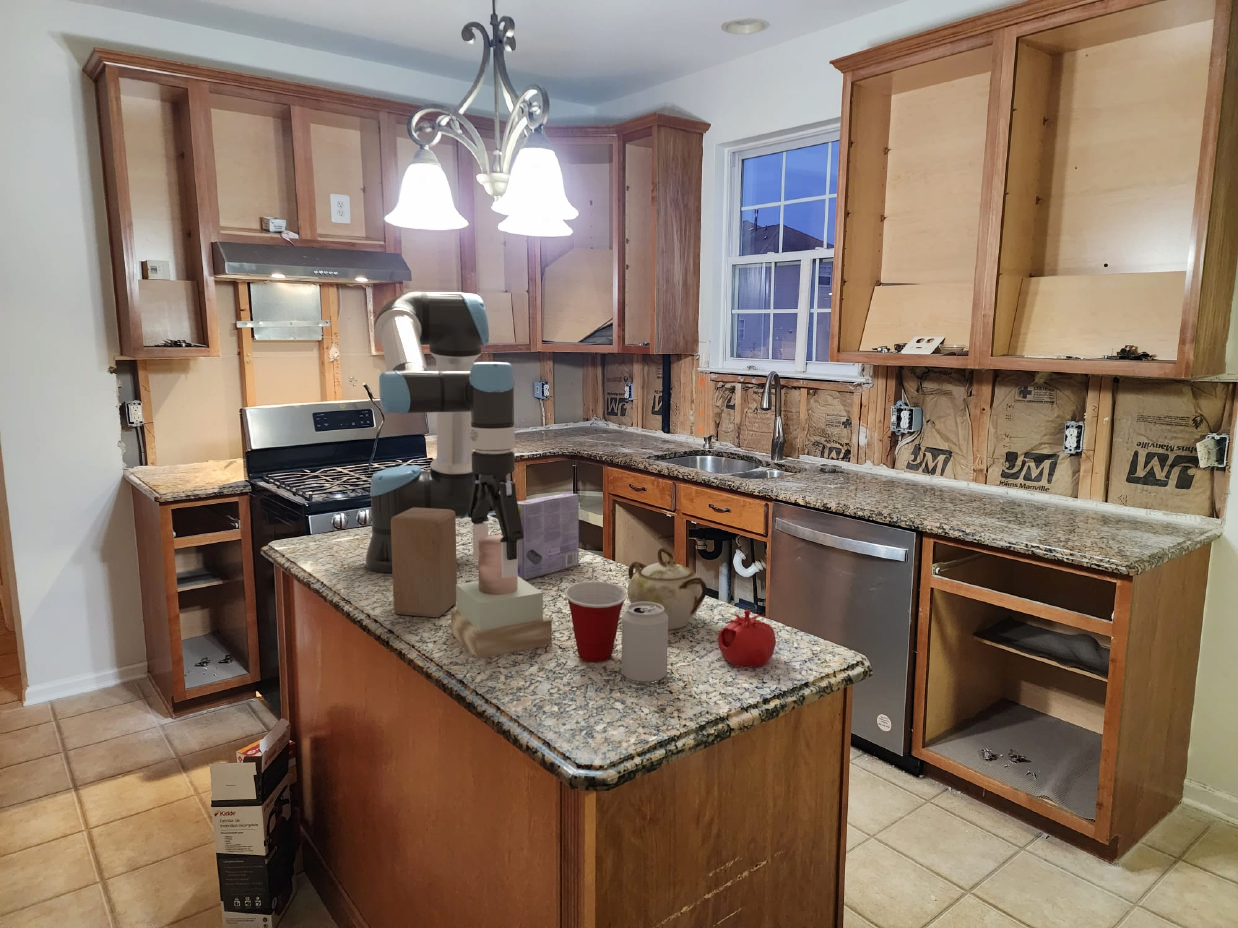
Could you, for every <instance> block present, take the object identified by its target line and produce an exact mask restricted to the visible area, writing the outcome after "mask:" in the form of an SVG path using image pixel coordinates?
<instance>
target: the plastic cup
mask: <svg viewBox="0 0 1238 928" xmlns="http://www.w3.org/2000/svg"><path fill="white" fill-rule="evenodd" d="M564 595H565V598H566V600H567V603H568V606H569V611H570V615H571V623H572V628H573V635H574V639H575V643H576V651H577V654H578V657H579V659H580V660H582V661H583V662H585V663H586V662H587V663H594V664H595V663H604V662H607V661H608V660H610V659H611V658H612V655H613V652H614V647H615V646H614V645H615V641H616V638H617V633H618V627H619V621H620V617H621V611H622V608H623V605H624V602H625V601H626V599H627V598H628V593H627V590H626V589H625V588H623V587H622V586H620V585H618V584H615V583H613V582H608V581H597V580H594V581H591V580H589V581H582V582H577V583H573V584H572V585H570V586H568V587H566V589H565V590H564Z"/></svg>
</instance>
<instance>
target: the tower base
mask: <svg viewBox="0 0 1238 928" xmlns="http://www.w3.org/2000/svg"><path fill="white" fill-rule="evenodd" d="M552 621H553V620H552V619H551V618H549V616H546V615H545V613H543V619H542V620H536V621H531V622H526V623H520V624H515V625H510V626H504V627H499V628H494V629H488V630H483V631H479V630H478V629H477V628H476V627H475V626H474V625H472V624H471V623H470V622H469V621H468V620H467V619H466V618H465V617H464V616H462V615H461V614H460V613H459V612H458V611H457V607H456V608H450V623H451V624H450V625H451V630H450V631H451V634H452V635H453V636H454V637H455V638H456V639H457V640H458V641H459V642H460V643H461V644H462V645H463V646H464V647H465V648H466V649H467V650H468V651H469V650H470V651H469V652H470V653H471V652H472V653H471V654H472V655H473V654H474V655H475V656H474V655H473V656H474V657H475V658H476V659H478V660H481V659H480V658H482V659H486V658H490V657H491V658H492V657H495V656H501V655H505V654H511V653H515V652H520V651H524V650H530V649H531V650H532V649H535V648H538V647H539V648H541V647H544V646H549V645H552V643H553V642H552V639H553V638H552V635H553V633H552V632H553V631H552V630H553V626H552V625H553V623H552ZM485 657H486V658H485Z"/></svg>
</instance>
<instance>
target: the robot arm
mask: <svg viewBox="0 0 1238 928" xmlns="http://www.w3.org/2000/svg"><path fill="white" fill-rule="evenodd" d="M484 303H485V302H484V300H483V299H482V298H481V296H479V295H478V294H475V293H467V292H457V291H456V292H454V291H453V292H450V291H449V292H448V291H447V292H446V291H445V292H441V291H439V292H437V291H434V292H431V291H430V292H429V291H426V292H424V291H410V292H406V293H402V294H401V293H400V294H399V295H397V296H395V297H393V298H392V299H390V300H389V301H387V302H386V303H385V304H384V305H383V306H382V307H381V308H380V309H379V311H378V312H377V314H376V316H375V320H374V328H373V329H374V334H375V337H376V339H377V341H378V343H379V344H380V345H381V346H382V350H383V351H382V352H383V356H384V362H385V367H386V371H383V372H381V373H380V375H379V377H378V387H379V388H378V392H379V403H380V404H379V405H380V409H381V410H382V412H384V413H386V414H387V413H388V414H400V415H406V414H418V413H419V414H422V413H423V414H424V413H436V457H435V458H434V459H433V460H432V461H431V462H430V465H429V466H430V467H429V468H430V471H429V470H428V471H422V469H421V467H420V466H419V465H414V464H413V465H400V466H394V467H389V468H386V469H385V468H384V469H382V470H379V471H377V472H375V473H374V474H373V475H372V476H371V478H370V491H369V496H370V501H371V502H370V504H371V508H370V509H371V536H370V537H371V538H370V541H369V545H368V547H367V551H366V555H365V568H366V569H368V570H370V571H372V572H378V573H387V574H388V573H389V574H390V573H391V574H393V573H392V545H391V519H392V517H394V516H396V515H398V514H400V513H402V512H404V511H407V510H409V509H411V508H414V507H416V508H433V509H450V510H453V511H455V516H456V519H465V518H469V519H470V521H471V523H472V554H473V555H472V556H473V557H472V558H473V559H474V560H476V559H477V560H478V540H479V539H480V538H482V537H486V536H489V521H490V520H489V517H488V515H489V512H490V511H491V508H492V509H494V511H495V515H496V517H497V521H498V525H499V528H500V531H501V535H503V537H502V538H501V540H500V542H501V562H502V578H509V577H515V576H518V540H519V539H523V538H524V534H523V529H522V524H521V519H520V514H519V509H518V503H517V502H518V500H517V499H518V498H517V492H516V491H517V490H516V489H517V488H516V483H515V481H514V482H508V478H507V475H508V474H512V473H513V472H515V470H516V469H515V467H516V463H515V460H516V459H515V458H516V457H515V456H516V455H515V452H514V450H513V449H514V448H515V446H516V444H515V443H516V439H515V438H516V435H515V434H516V432H515V430H516V427H515V385H516V380H515V378H514V376H515V375H514V367H513V365H512V364H511V363H510V362H507V361H505V362H502V361H501V362H500V361H476V360H477V359H478V358H479V357H480V356H481V354H482V347H485V346H487V345H489V341H490V328H489V322H488V314H487V309H486V306H485V304H484ZM422 346H429V354H430V355H431V356H432V357H433V358H435V360H436V370H429V367H428V365H427V361H426V357H425V353H424V351H423V347H422ZM475 361H476V362H475Z"/></svg>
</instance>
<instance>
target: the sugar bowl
mask: <svg viewBox="0 0 1238 928" xmlns="http://www.w3.org/2000/svg"><path fill="white" fill-rule="evenodd" d="M662 553H664V554H665V555H667V557H668V559H669V560H663V556H662V555H663V554H662ZM657 558H658V559H657V560H658V562H655V563H652V564H651V563H650V564H649V565H646V564H645V563H642V562H638V561H633V562H631V563H630V565H629V567H628V572H627V573H628V578H629V582H628V584H627V590H626V592H627V598H628V600H629V602H630V604H632V603H635V602H654V603H658V604H660V605H662V606H663V607H664V608H665V610H664V612H665V613H666V614H667V616H668V631H670V630H671V631H673V630H679V629H682V628H684V627H686V626H687V625H688V623H689V622H690V620H691V619H692V618H694V616H695V614H696V613H697V611H698V610H699V609H700V607H701V606H702V603H703V602H704V600H705V599H706V595H707V592H708V591H707V589H708V588H707V584H706V583H705V581H704V579H703V578H702V577H699V575H697V574H696V573H695V570H693V569H692V568H691V567H688V566H684V565H682V564H678V563H676V562H675V560H674V555H673V554H672V552H671V551H670V550H669V549H668V548H666V547H661V548H659V550H658V551H657ZM634 569H635V570H634Z"/></svg>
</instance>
